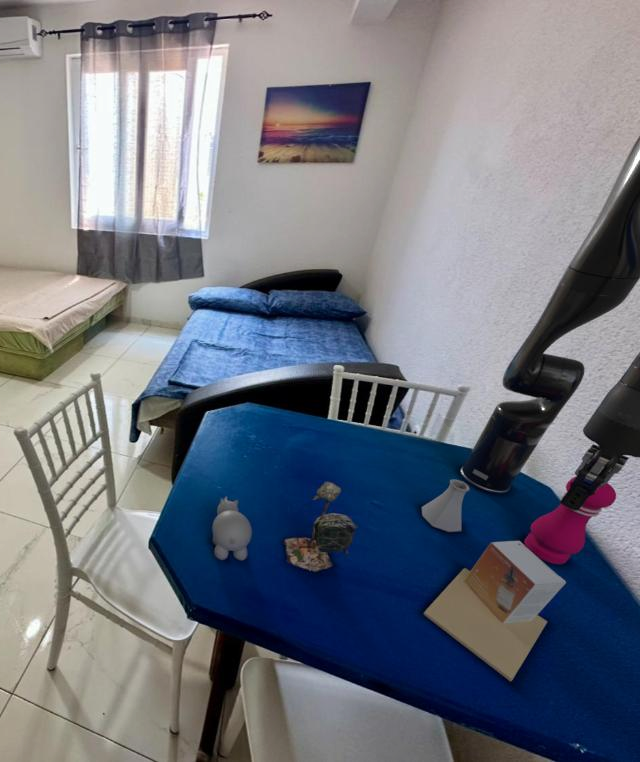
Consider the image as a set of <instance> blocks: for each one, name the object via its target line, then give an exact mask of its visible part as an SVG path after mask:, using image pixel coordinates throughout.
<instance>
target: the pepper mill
mask: <svg viewBox="0 0 640 762" xmlns="http://www.w3.org/2000/svg"><path fill="white" fill-rule="evenodd" d="M575 477H577V476H576V475H575V476H573V477H572V478H570V479H569V480H568V481H567V483H566V484H565V490H566V492H564V493H563V496H561V497H560V501H561V500H562V499H563V497H564V496H565V494H566V493H567V492H568V490H569V489H570V488H571V487H570V486H571V485H570V483H571V482H572V481H574V479H575ZM616 499H617V493H616V490H615V488H614V487H613V486H612V485H611V484H609V482H607V484H606V485H605V486H599V488H598V489H597V490H596V493H595V494H594V495H591V496H589V497H588V499H587V500H586V501H585V503H584V504H583V505H582V506H581V508H580V509H579V510H578V511H575V510H572V509H570V508H568V507H566V506H564V505H562V504H561V503H560V504H559V505H558V506H557V508H555V509H554V510H553V511H551V512H549V513H546V514H544V515H542V516H539V517H538V518H537V519H535V520H534V521H533V522H532V523H531V525H530V533H528V535H527V536H526V538H525V539H524V541H523V544H524V545H525V546H526V547H527V548H528V549H529V550H530V551H531V552H532V553H533V554H534V555H536V556H537V557H538V558H539V559H540V560H542V561H545V562H547V563H550V564H554V565H563V564H565V563H567V561H568V560H569V559H570V558H571V555H573V554H577V553H579V552H581V550H582V549H583V548H584V546H585V543H586V528H587V524H588V523H589V521H590V519H591V518H592V517H598V516H599V514H600V513H601V512H602V510H603V509H604V508H605V509H606V508H609V507H611V506H612V505H613V504H614V503H615V501H616Z"/></svg>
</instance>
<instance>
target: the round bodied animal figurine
mask: <svg viewBox="0 0 640 762" xmlns="http://www.w3.org/2000/svg"><path fill="white" fill-rule="evenodd" d="M238 505H239V499H236V500H234V501H231V500H228V496H226V495H225V497H224V498H222V497H221V498H220V500H219V503H218V506H217V509H216V513H217V516H215V519H214V520H213V522H212V529H211V530H212V535H213V536H212V543H213V544H214V546H215V547H214V550H213V554H214V556H215V557H216V559H218V560H220V561H224V560H226V559H227V558H228V557H229V552H231V551H232V554H233V557H234V558H235V559H236V560H238V561H244V560H246V559H247V557H248V549H247V546H248V545H249V544H250V541H251V540H252V534H253V529H252V526H251V525H252V524H251V523H250V521H249V520H248V518H247V517H246V516H245V515H244V514H242V512H239V511H240V510H239V507H238Z"/></svg>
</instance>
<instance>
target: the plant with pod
mask: <svg viewBox="0 0 640 762" xmlns="http://www.w3.org/2000/svg"><path fill="white" fill-rule="evenodd" d="M341 492H342V489H341V487H339V486H337V485H336V484H335V483H334V482H331V481H324V482H323V484H322V485H321V486H320V487H319V488H318V489H317V490H316V494H317V495H315V496H314V497H313V498H312V500H313V501H315V500H317V499H323V500H325V504H324V508H323V511H322V513H321V516H320V515H319V517H317V518H316V519H315V521H314V522H313V525H312V526H313V528H312V530H313V531H312V532H311V535H312V536H311V538H309V537H300V536H299V537H296V536H294V537H293V538H292V537H290V538H285V540H284V541H283V544H284V545H285V547H284V548H285V550H286V551H285V554H286V562H287V563H289V564H290V565H292V566H295V567H298V568H301V569H305V570H309V571H310V572H311V571H312V573H315V572H319V571H322V570H328V569H329V568H332V567H334V564H333V562H332V561H331V558H330V557H329V555H328V554H329V553H340V552H342V551H343V552H344V553H345V554H349V553H348V552H349V551H348V550H347V549H348V548H349V547H350V546H351V544H353V539H354V534H355V533H356V528H358V525H356V524H355V523H354V521H353V520H352V518H351V517H350V516H348V515H345V514H340V513H335V512H332V513H327V509H328V507H329V505H330V503H332V502H334V501H336V500H337V499H338V497H339V496H340V494H341Z"/></svg>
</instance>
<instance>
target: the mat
mask: <svg viewBox="0 0 640 762" xmlns="http://www.w3.org/2000/svg"><path fill="white" fill-rule="evenodd" d="M470 571H471V570H469V569H467V568H466V567H464V568H463V569H462V570H461V571H460V572H459V573H458V574H457V575H456V576H455V577H454V579H453V580H452V581H451V582H450V583H449V584H448V585H447V586H446V588H445V589H444V590H443V591H442V592H441V593H440V594H439V595H438V596H437V597H436V599H434V600H433V602H432V603H431V604H430V605H429V606H428V607H427V608H426V610H425V611H423V616H424V617H426V618H427V619H429V620H430V621H431V622H433V623H434V624H435V625H437V627H439V628H440V629H441V630H443V631H444V632H445V633H447V634H448V635H450V636H451V637H452V638H453V639H454V640H456V641H457V642H458V643H460V644H461V645H462V646H464V647H465V648H466V649H467V650H469V651H470V652H471V653H473V654H474V655H475V656H477V657H478V658H479V659H481V661H483V662H484V663H486V664H487V665H488V666H489V667H491V668H492V669H494V670H495V671H496V672H497V673H499V674H500V675H501V676H502V677H504V678H505V679H506V680H508V681H509V682H512V681H513V680H514V679H515V677H516V675H517V673H518V671H519V670H520V669H521V667H522V665H523V664H524V662H525V660H526V658H527V656H528V655H529V653H530V652H531V650H532V648H533V647H534V645H535V643H536V642H537V640H538V638H539V637H540V635H541V633H542V632H543V630H544V628H545V627H546V625H547V624H548V621H547V620H546V619H544V618H543V617H541V616H540V615H539V614H538V615H537V616H536V617H535V618H534V619H533V620H532V621H526V622H514V623H501V622H500V621H499V619H498V618H497V617H496V615H495V614H494V613H493V612H492V611H491V610H490V609H489V608H488V606H487V605H486V604H485V603H484V602H483V601H482V600H481V598H480V597H479V596H478V595H477V594H476V593H475V592H474V591H473V589H472V588H471V587H470V586H469V585H468V584H467V583H466V582H465V581H464V580H465V578H466V577H467V575H468V574H469V573H470Z"/></svg>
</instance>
